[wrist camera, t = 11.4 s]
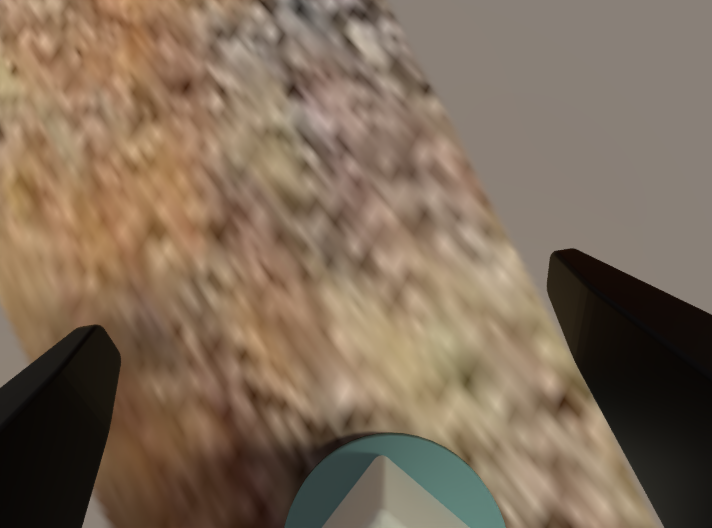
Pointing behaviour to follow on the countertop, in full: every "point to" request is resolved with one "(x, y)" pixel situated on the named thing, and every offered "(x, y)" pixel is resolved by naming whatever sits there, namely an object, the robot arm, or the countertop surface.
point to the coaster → (416, 459)
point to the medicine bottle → (390, 502)
